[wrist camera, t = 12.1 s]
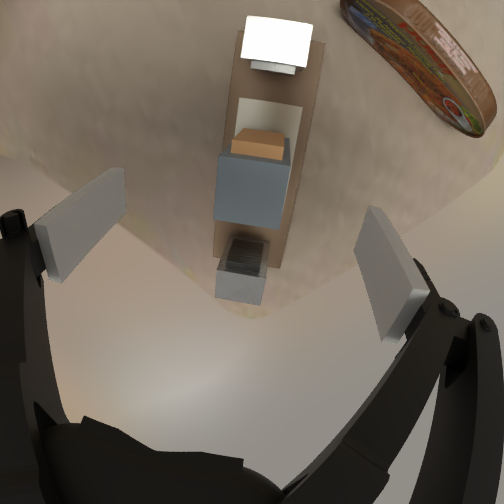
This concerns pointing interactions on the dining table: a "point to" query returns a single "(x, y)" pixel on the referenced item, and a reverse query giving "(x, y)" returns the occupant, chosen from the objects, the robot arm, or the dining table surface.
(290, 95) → the brown flat board
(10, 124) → the dining table surface
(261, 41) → the near end finger
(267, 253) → the far end finger
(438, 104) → the tin
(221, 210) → the block
